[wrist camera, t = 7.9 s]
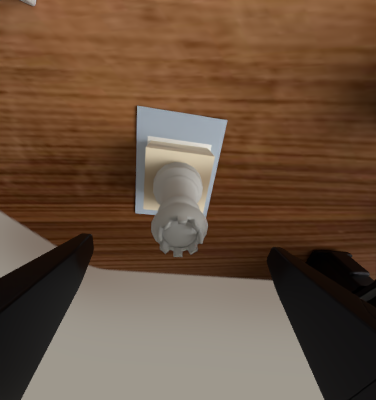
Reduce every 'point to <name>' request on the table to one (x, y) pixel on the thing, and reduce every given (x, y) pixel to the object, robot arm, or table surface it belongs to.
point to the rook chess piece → (178, 209)
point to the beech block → (169, 153)
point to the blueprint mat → (175, 141)
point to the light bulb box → (30, 2)
